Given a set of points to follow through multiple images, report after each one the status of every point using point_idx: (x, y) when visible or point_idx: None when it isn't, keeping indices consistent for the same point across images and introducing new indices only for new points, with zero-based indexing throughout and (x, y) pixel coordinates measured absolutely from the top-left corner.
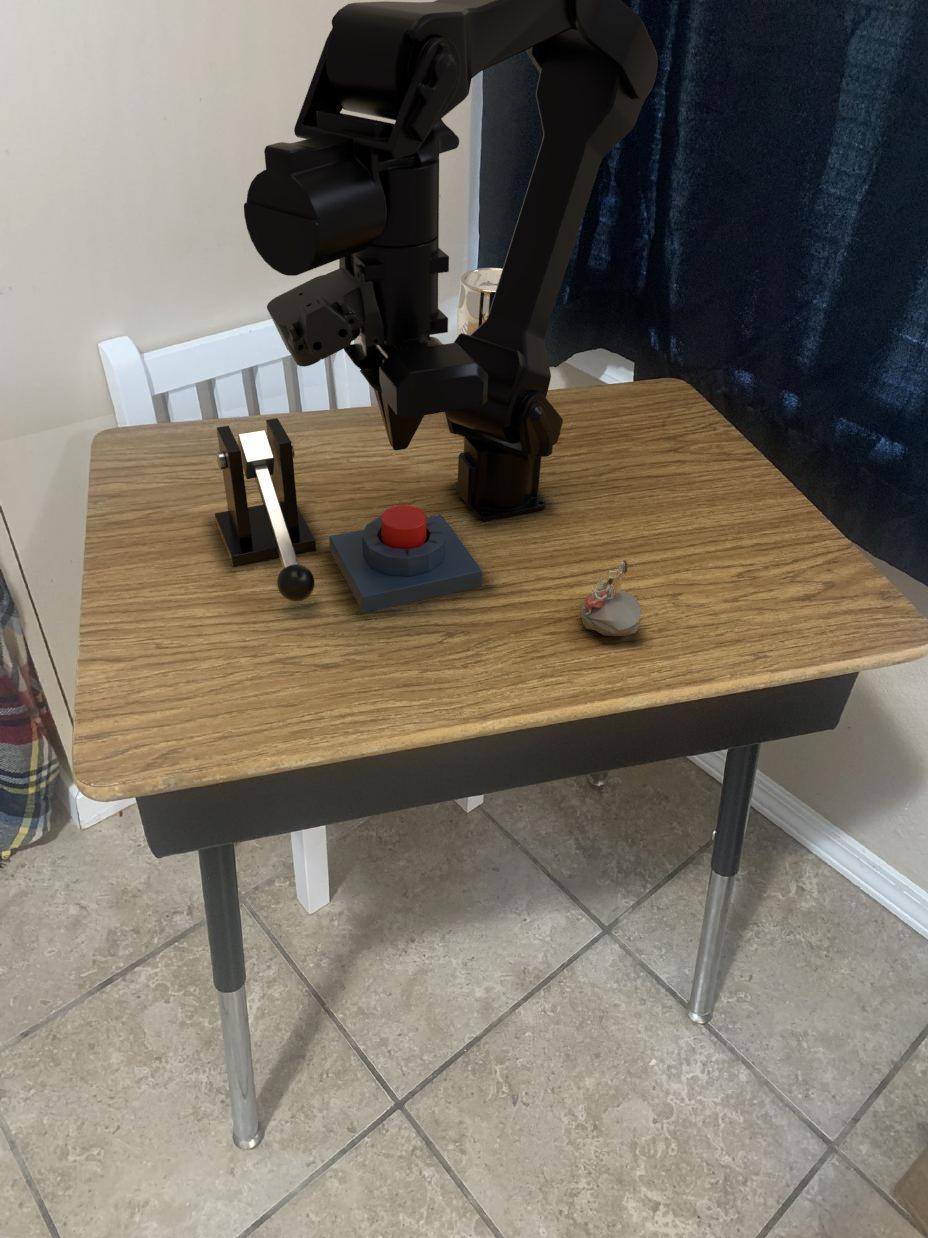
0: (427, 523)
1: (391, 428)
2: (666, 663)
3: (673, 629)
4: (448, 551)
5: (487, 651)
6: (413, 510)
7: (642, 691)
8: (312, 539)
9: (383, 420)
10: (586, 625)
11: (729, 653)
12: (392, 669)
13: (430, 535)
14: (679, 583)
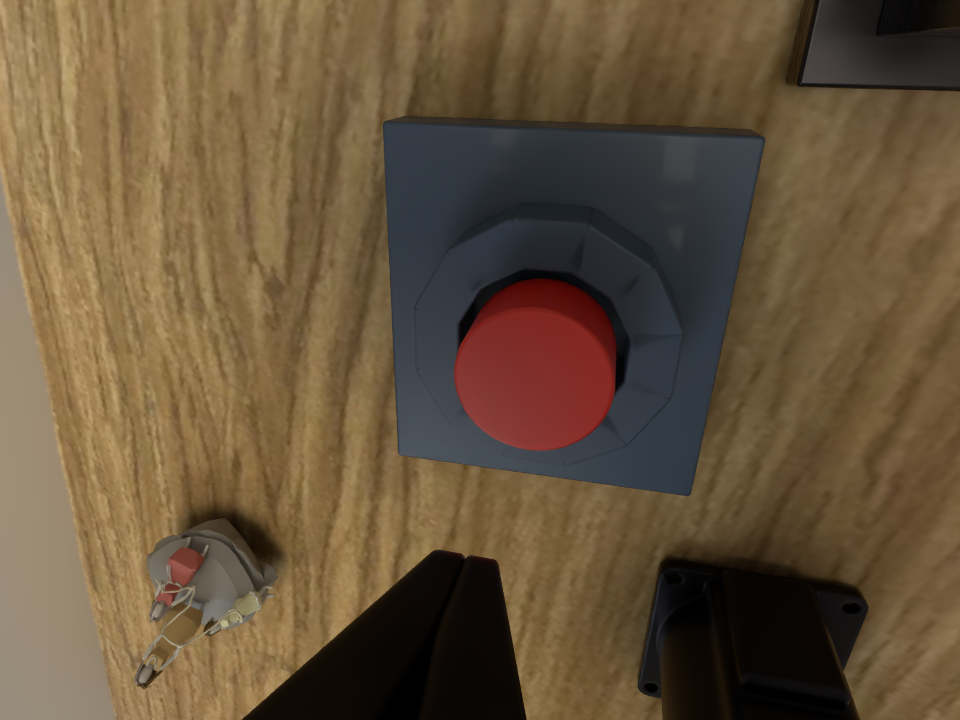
0: None
1: (307, 662)
2: (134, 562)
3: None
4: None
5: (206, 332)
6: (557, 427)
7: (75, 497)
8: (805, 75)
9: (495, 680)
10: (206, 522)
11: (145, 638)
12: (180, 106)
13: None
14: None
